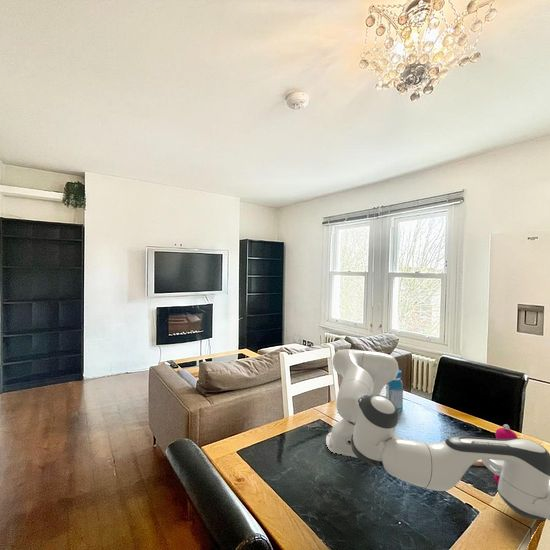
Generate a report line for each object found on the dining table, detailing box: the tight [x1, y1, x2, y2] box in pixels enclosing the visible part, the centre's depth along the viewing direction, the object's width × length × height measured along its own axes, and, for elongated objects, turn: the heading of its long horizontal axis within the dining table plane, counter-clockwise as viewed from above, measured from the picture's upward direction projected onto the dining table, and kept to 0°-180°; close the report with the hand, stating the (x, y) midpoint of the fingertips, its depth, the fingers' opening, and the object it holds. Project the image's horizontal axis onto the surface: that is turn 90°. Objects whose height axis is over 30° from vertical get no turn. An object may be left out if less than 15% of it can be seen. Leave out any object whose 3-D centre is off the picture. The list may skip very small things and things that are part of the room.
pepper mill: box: [493, 423, 518, 485], centre depth 102 cm, size 7×7×20 cm
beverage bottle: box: [385, 369, 404, 412], centre depth 157 cm, size 8×8×20 cm
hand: (505, 450), depth 102 cm, fingers open, 8 cm apart
